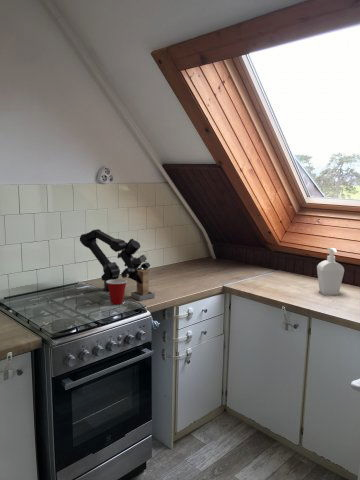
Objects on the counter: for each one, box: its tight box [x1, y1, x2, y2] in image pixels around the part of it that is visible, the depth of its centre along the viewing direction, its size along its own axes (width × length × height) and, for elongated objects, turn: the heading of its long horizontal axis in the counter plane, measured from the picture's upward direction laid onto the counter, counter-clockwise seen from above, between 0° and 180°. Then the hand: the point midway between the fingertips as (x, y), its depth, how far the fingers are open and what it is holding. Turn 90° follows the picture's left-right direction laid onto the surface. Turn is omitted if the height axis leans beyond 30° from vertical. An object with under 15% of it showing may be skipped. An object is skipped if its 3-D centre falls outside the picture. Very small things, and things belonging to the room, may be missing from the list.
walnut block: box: [136, 269, 150, 296], centre depth 225 cm, size 4×4×13 cm
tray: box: [130, 290, 156, 302], centre depth 226 cm, size 9×9×2 cm
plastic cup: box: [106, 278, 128, 306], centre depth 216 cm, size 11×11×12 cm
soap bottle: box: [316, 247, 345, 296], centre depth 234 cm, size 12×10×26 cm
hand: (144, 282), depth 224 cm, fingers closed on walnut block, 4 cm apart
